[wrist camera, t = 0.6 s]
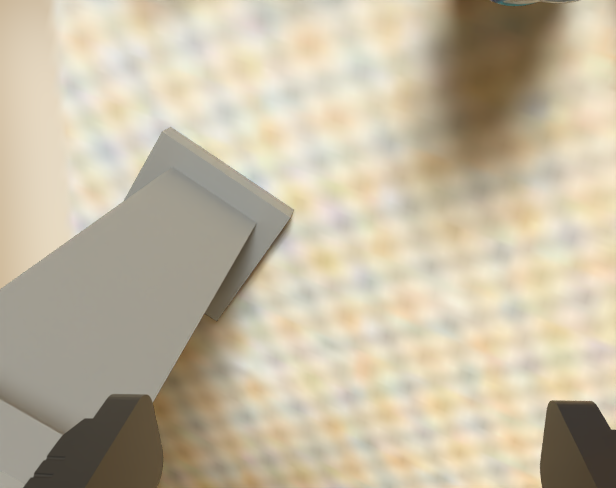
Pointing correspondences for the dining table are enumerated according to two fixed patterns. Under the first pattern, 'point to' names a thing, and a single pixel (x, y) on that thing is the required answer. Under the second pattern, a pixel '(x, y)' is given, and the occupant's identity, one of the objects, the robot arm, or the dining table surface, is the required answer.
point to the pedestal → (125, 296)
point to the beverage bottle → (528, 2)
